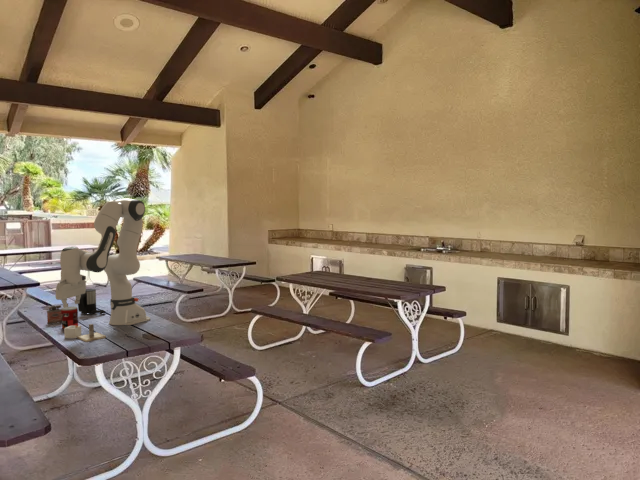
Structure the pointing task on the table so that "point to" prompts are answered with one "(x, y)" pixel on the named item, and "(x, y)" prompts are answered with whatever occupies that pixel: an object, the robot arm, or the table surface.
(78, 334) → the beige hollow cube
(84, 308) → the milk frother
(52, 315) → the ornate red tin
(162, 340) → the table surface
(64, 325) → the canned food
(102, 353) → the table surface
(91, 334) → the shaft block
